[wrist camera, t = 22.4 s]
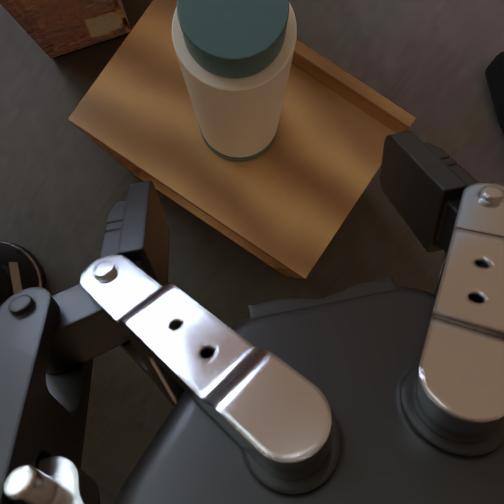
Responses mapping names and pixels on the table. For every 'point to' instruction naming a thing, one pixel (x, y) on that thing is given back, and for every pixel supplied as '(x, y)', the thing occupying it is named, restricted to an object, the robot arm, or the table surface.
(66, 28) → the book
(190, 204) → the frame
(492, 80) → the electric trimmer
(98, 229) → the table surface
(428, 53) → the table surface
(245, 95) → the bottle with teal cap
